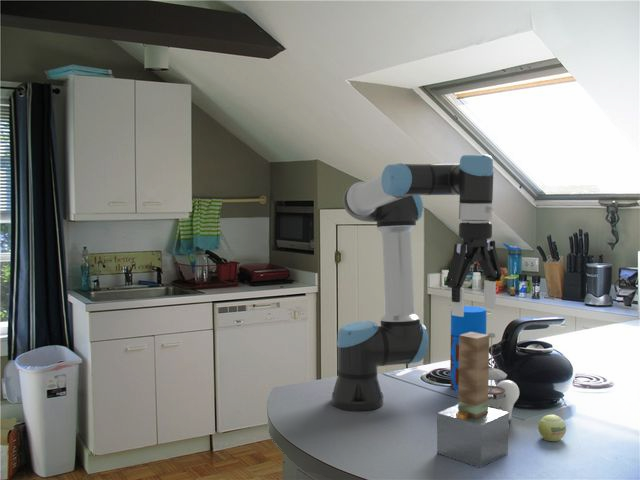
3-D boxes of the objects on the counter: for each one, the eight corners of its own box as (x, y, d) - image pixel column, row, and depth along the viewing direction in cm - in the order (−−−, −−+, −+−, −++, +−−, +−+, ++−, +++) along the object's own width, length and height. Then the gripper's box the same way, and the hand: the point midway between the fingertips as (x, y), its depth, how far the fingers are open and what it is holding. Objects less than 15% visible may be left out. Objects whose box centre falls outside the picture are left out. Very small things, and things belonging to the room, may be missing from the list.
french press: (503, 434, 180) (504, 338, 178) (460, 426, 186) (460, 333, 184) (514, 422, 188) (515, 330, 186) (472, 415, 194) (473, 326, 192)
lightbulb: (518, 417, 192) (519, 378, 191) (518, 425, 186) (519, 384, 185) (494, 415, 194) (495, 376, 193) (493, 422, 188) (495, 382, 187)
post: (458, 426, 167) (459, 335, 165) (469, 420, 170) (470, 331, 168) (476, 431, 163) (477, 338, 161) (487, 425, 167) (489, 335, 165)
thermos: (483, 383, 224) (484, 306, 222) (487, 393, 214) (489, 312, 211) (448, 382, 225) (449, 305, 223) (451, 392, 215) (452, 312, 213)
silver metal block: (437, 453, 167) (437, 408, 166) (465, 440, 176) (465, 397, 175) (480, 468, 159) (481, 420, 158) (507, 453, 167) (508, 408, 166)
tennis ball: (547, 418, 172) (570, 415, 174) (531, 413, 179) (554, 410, 180) (549, 444, 172) (572, 441, 174) (533, 438, 178) (556, 435, 180)
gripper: (458, 225, 151) (457, 321, 153) (517, 219, 169) (515, 306, 171) (430, 223, 156) (429, 317, 158) (490, 218, 174) (488, 302, 176)
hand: (474, 311), depth 165 cm, fingers open, 13 cm apart
